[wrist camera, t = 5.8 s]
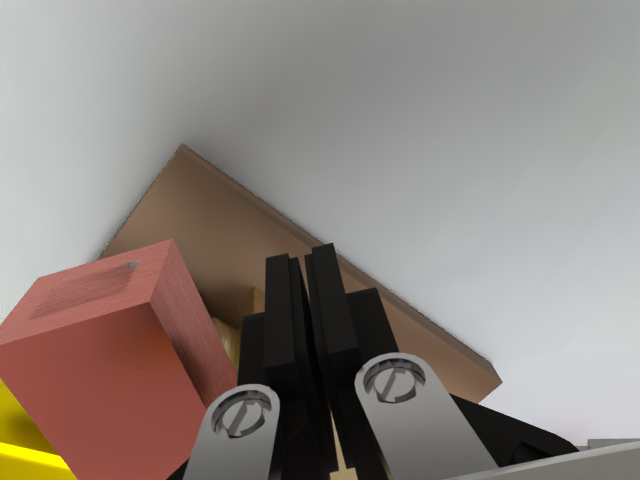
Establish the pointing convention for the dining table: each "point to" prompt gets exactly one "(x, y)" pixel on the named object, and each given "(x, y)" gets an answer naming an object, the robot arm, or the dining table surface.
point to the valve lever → (116, 363)
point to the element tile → (26, 445)
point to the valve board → (265, 241)
